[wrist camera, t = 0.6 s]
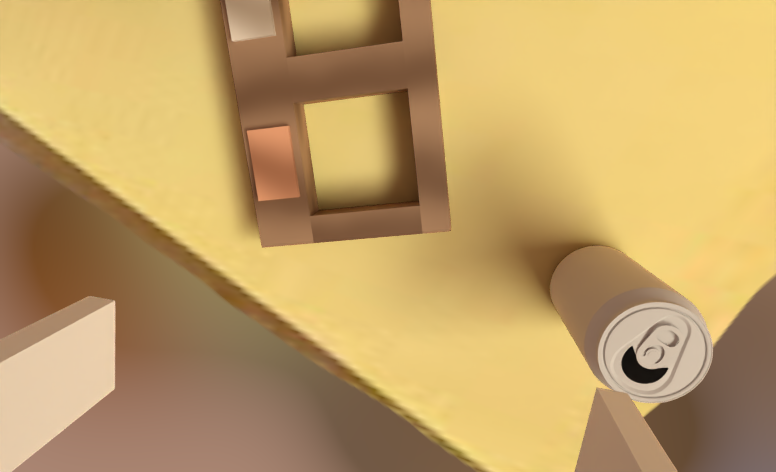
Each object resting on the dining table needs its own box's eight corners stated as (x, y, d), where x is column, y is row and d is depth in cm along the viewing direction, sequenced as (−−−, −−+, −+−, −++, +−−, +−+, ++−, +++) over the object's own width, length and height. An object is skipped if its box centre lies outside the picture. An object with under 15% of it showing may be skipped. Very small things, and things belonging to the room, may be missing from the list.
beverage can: (531, 296, 38) (565, 370, 27) (581, 226, 37) (641, 272, 25) (602, 339, 38) (668, 432, 27) (655, 271, 37) (750, 338, 25)
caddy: (221, -79, 35) (201, -97, 33) (419, -116, 33) (417, -138, 31) (273, 240, 40) (259, 248, 37) (450, 224, 38) (450, 232, 35)
